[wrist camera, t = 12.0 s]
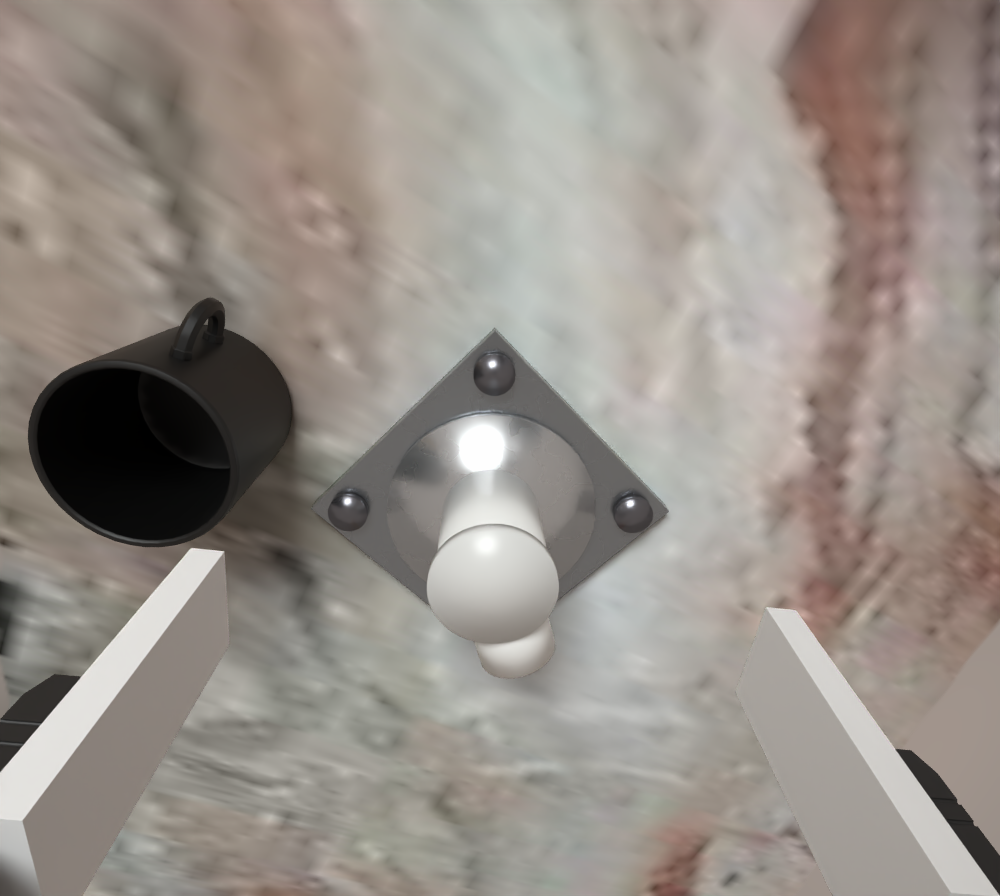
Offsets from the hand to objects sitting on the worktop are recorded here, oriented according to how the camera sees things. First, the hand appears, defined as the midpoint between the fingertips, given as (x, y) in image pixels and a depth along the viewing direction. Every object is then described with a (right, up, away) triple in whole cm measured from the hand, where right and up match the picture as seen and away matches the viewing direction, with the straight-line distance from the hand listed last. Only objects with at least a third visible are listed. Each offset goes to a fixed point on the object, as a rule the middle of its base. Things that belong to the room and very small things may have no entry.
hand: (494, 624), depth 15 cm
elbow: (0, -1, +24) cm, 24 cm away
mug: (-16, +8, +21) cm, 28 cm away
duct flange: (0, +1, +25) cm, 25 cm away
